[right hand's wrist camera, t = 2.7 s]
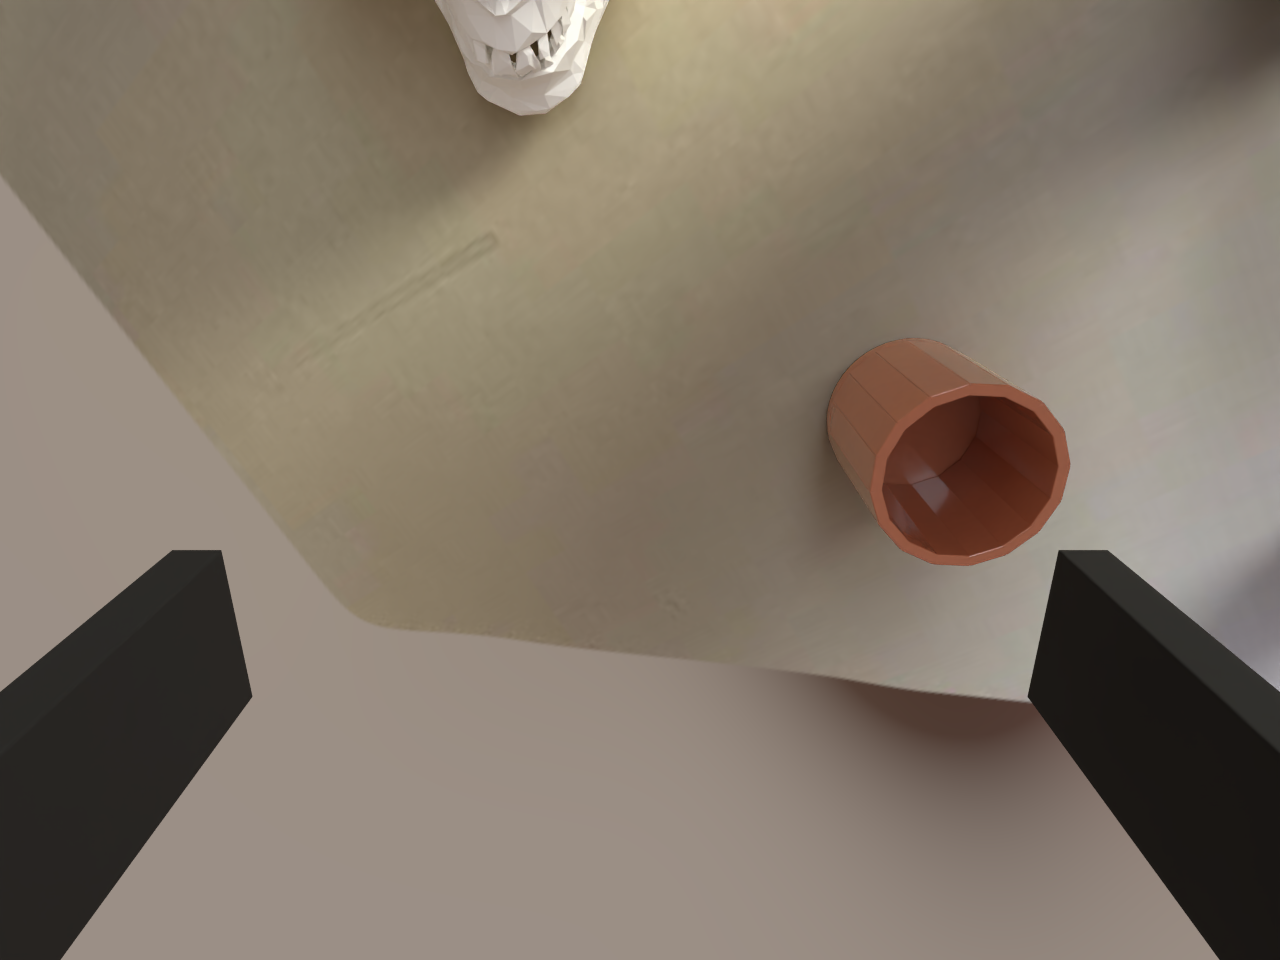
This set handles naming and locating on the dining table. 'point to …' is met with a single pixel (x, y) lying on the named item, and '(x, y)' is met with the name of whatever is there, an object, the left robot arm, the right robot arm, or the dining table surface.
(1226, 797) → the right robot arm
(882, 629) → the dining table surface
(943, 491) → the terracotta cup
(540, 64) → the skull
